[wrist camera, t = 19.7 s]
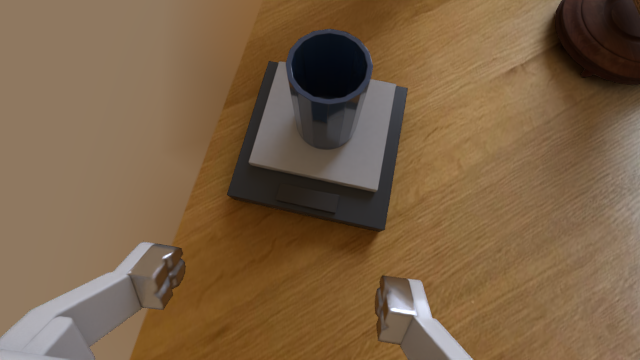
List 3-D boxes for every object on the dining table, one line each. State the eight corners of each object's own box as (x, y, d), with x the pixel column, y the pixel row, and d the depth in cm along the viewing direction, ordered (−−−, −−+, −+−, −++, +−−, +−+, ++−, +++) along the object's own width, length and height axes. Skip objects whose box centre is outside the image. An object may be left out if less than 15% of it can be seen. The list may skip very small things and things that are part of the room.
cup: (289, 143, 28) (276, 93, 19) (303, 90, 30) (297, 22, 21) (349, 155, 28) (364, 111, 19) (361, 101, 29) (378, 37, 21)
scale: (233, 199, 30) (223, 192, 27) (272, 73, 34) (267, 54, 31) (379, 232, 29) (387, 229, 26) (401, 99, 33) (410, 82, 30)
